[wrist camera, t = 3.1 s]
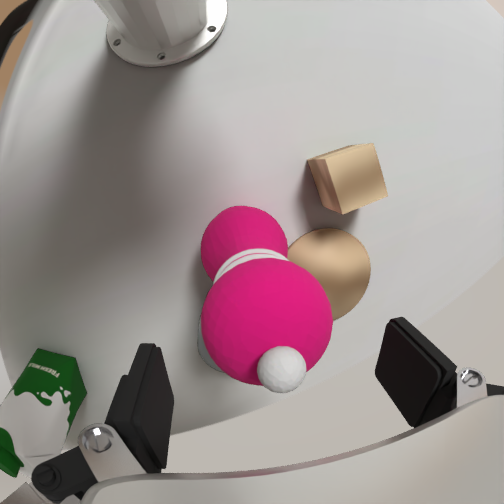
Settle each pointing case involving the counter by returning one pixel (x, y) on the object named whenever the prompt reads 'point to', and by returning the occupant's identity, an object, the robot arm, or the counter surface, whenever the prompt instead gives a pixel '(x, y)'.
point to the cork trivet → (334, 266)
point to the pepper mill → (260, 303)
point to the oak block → (348, 177)
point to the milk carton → (39, 412)
